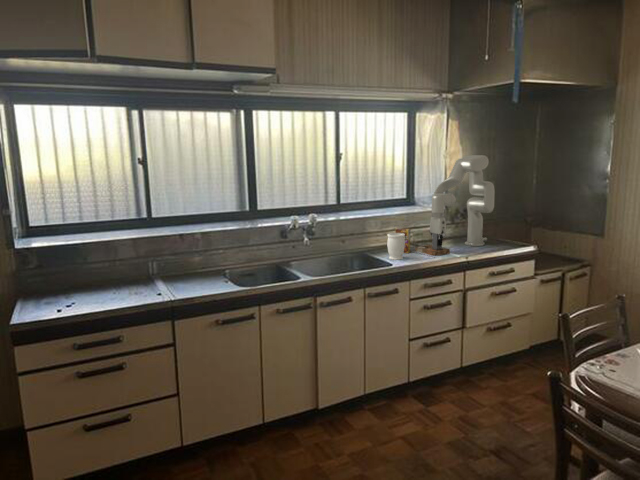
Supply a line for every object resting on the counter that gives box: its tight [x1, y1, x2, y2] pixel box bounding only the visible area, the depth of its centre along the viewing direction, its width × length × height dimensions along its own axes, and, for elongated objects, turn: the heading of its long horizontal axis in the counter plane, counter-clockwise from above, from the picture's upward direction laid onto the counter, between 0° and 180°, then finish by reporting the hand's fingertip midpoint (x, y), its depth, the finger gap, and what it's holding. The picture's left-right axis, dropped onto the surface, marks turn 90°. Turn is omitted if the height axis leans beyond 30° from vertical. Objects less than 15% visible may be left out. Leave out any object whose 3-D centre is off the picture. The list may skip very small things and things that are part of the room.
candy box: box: [394, 227, 411, 254], centre depth 309 cm, size 9×4×15 cm, turn 60°
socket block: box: [414, 244, 451, 259], centre depth 303 cm, size 12×18×4 cm
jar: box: [386, 232, 405, 261], centre depth 293 cm, size 11×10×15 cm
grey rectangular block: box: [431, 233, 443, 250], centre depth 298 cm, size 4×4×11 cm
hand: (437, 244), depth 299 cm, fingers closed on grey rectangular block, 4 cm apart
